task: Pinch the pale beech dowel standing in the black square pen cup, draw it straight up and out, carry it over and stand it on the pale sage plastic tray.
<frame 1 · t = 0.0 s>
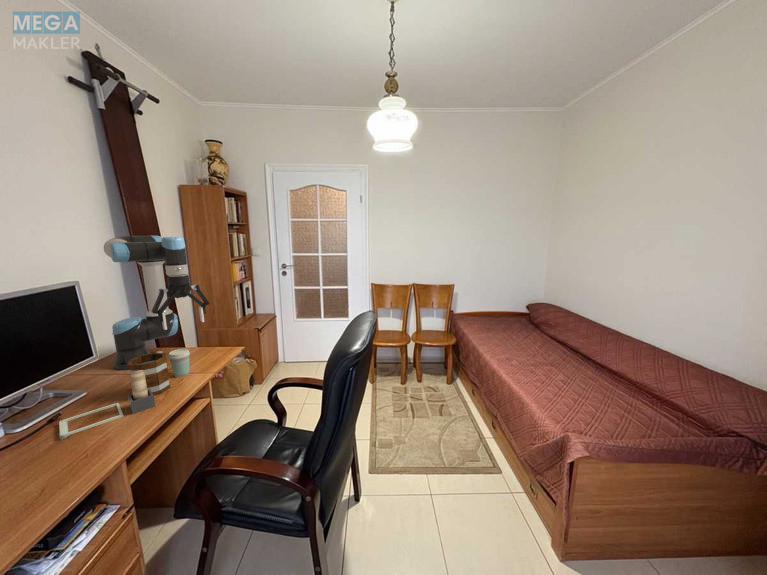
hand: (184, 325, 128), 28 cm above the table, fingers open, 13 cm apart
dowel: (142, 406, 117), point 1 cm above the table, touching pen cup
pen cup: (142, 408, 117), on the table
tray: (92, 421, 110), on the table
coffee cup: (182, 376, 144), on the table
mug: (156, 388, 132), on the table
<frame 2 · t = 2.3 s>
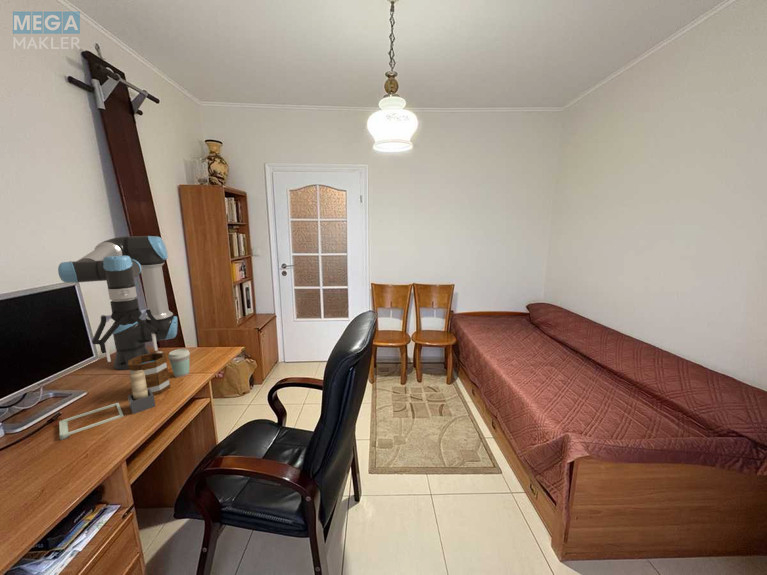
hand: (133, 355, 113), 22 cm above the table, fingers open, 13 cm apart
nothing on the table moved.
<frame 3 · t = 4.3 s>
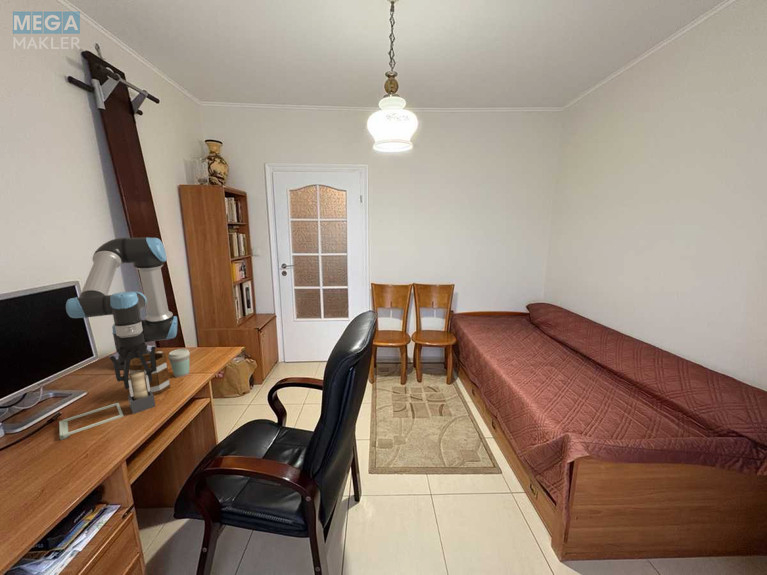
hand: (140, 392, 116), 7 cm above the table, fingers closed on dowel, 4 cm apart
dowel: (142, 406, 117), point 1 cm above the table, touching gripper
everything else where it was.
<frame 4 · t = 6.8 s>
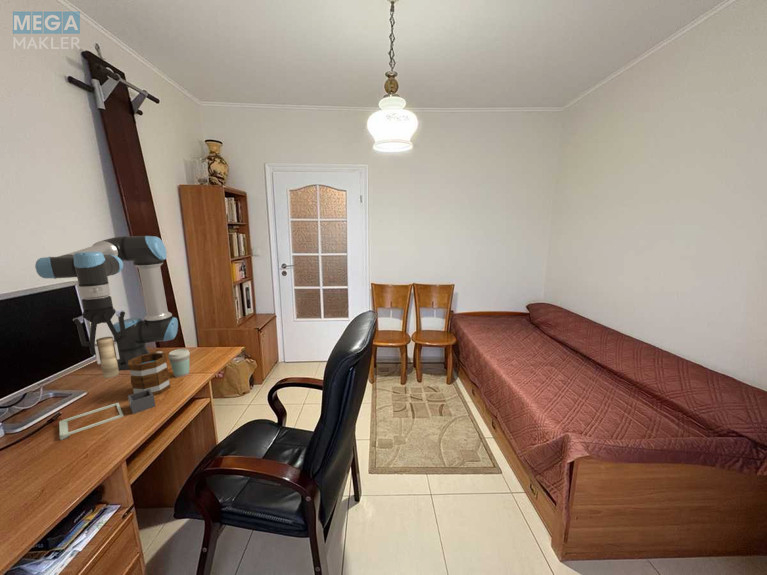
hand: (108, 360, 109), 22 cm above the table, fingers closed on dowel, 4 cm apart
dowel: (111, 375, 111), point 16 cm above the table, touching gripper
everything else where it was.
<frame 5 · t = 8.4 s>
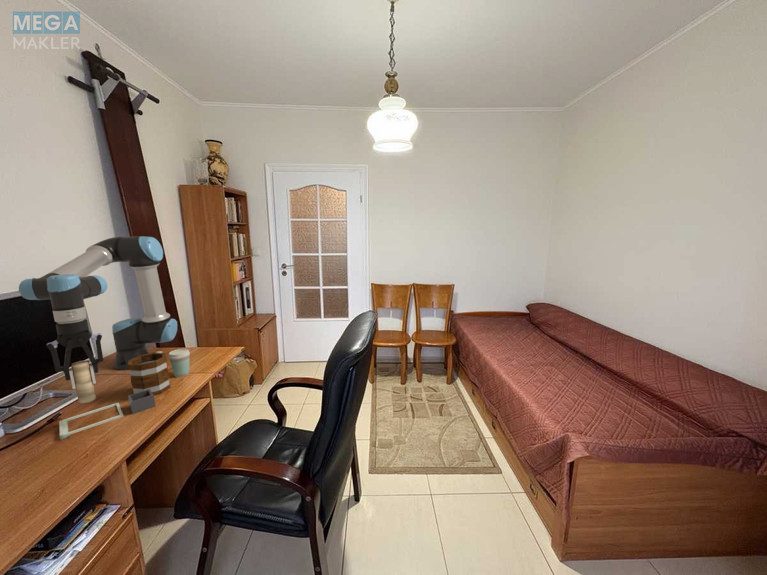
hand: (84, 384, 107), 14 cm above the table, fingers closed on dowel, 4 cm apart
dowel: (87, 400, 108), point 8 cm above the table, touching gripper
everything else where it was.
when the fingers open (7 cm above the table, at t = 9.7 s): dowel drops 1 cm, resting on tray.
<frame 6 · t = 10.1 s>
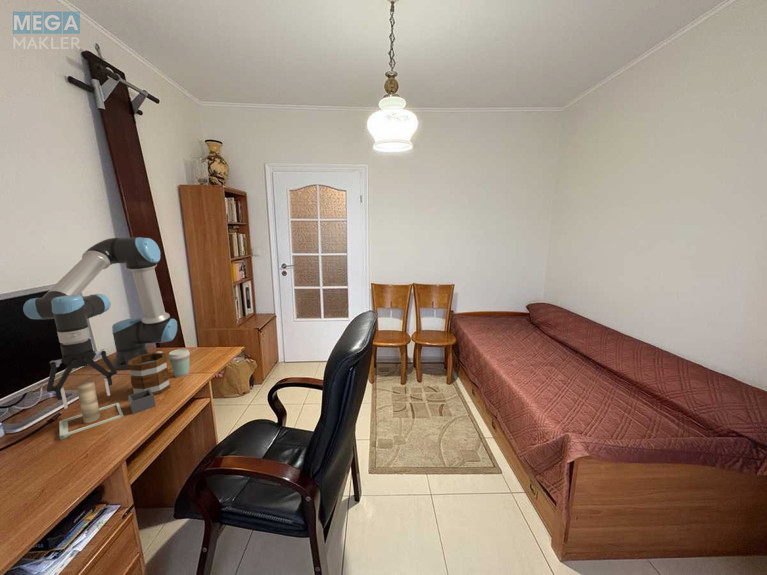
hand: (88, 400, 108), 8 cm above the table, fingers open, 10 cm apart
dowel: (92, 419, 109), point 1 cm above the table, touching tray
everything else where it was.
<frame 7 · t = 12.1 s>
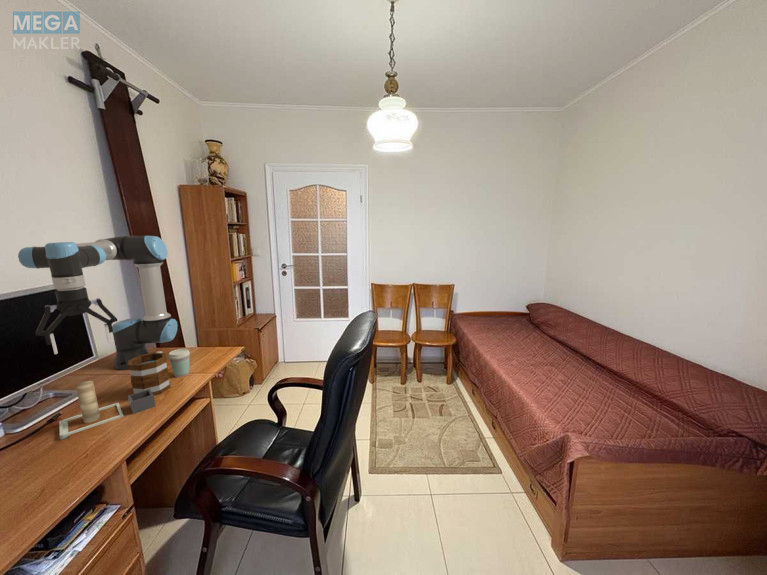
hand: (83, 346, 108), 27 cm above the table, fingers open, 13 cm apart
nothing on the table moved.
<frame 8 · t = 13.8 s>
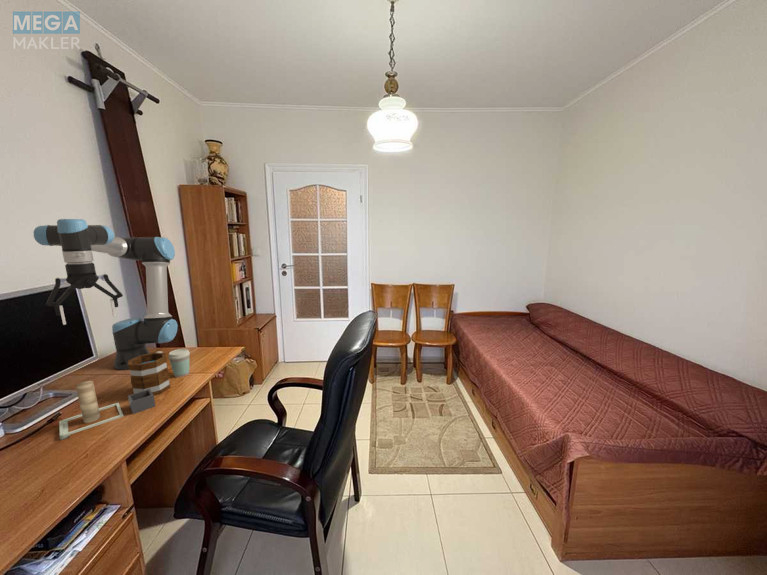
hand: (90, 319, 114), 35 cm above the table, fingers open, 13 cm apart
nothing on the table moved.
at the end: dowel inside the target area on the tray (0.0 cm from its centre), point 0.6 cm above the tray's base; dowel tilted 0°; the gripper is holding nothing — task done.
